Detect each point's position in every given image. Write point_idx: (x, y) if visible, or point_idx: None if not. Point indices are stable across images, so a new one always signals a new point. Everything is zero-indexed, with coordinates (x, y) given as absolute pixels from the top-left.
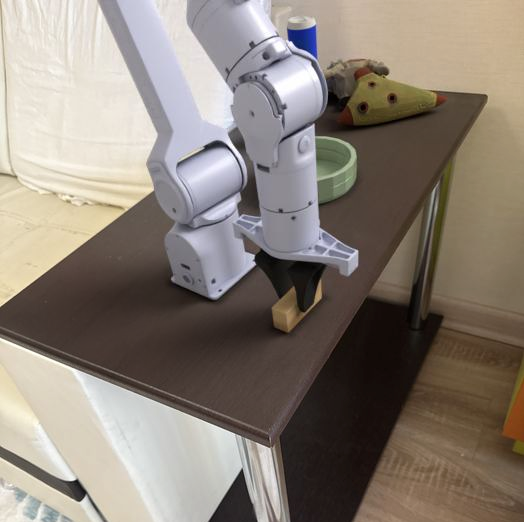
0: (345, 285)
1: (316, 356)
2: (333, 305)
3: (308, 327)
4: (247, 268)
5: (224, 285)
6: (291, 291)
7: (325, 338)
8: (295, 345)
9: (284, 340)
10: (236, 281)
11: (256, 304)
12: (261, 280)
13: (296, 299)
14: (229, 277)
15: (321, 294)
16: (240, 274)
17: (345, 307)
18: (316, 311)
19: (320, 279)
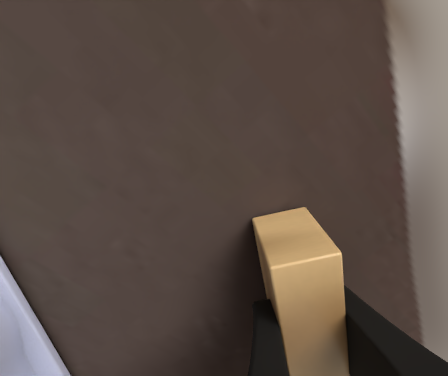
0: (327, 100)
1: (417, 339)
2: (353, 202)
3: None
4: (1, 285)
5: (41, 368)
6: (296, 359)
7: (405, 296)
8: None
9: None
10: (41, 331)
11: (170, 333)
12: (84, 270)
13: (339, 370)
14: (17, 354)
15: (310, 214)
16: (19, 315)
17: (390, 184)
18: None
19: (341, 254)
